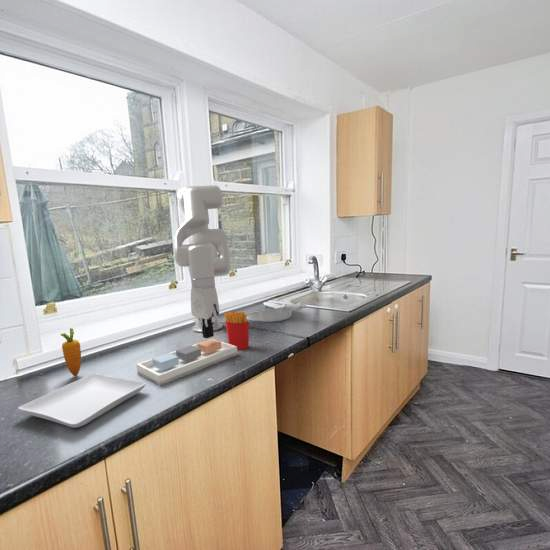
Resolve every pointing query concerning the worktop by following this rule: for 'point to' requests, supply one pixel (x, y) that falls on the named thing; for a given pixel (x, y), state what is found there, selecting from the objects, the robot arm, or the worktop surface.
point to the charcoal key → (188, 353)
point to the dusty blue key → (165, 361)
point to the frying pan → (275, 312)
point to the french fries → (237, 329)
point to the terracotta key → (209, 346)
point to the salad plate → (83, 399)
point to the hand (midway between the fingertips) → (208, 336)
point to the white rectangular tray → (185, 365)
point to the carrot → (72, 353)
